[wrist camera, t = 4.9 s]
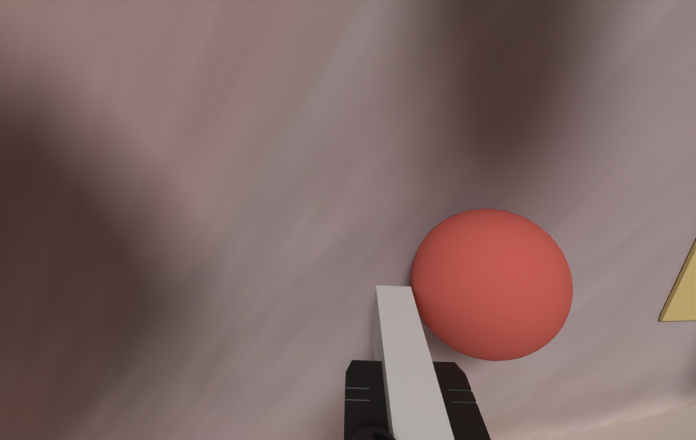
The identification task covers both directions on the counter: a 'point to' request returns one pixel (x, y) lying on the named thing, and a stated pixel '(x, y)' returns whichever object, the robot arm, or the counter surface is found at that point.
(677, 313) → the plate
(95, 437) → the counter surface
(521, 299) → the ball
